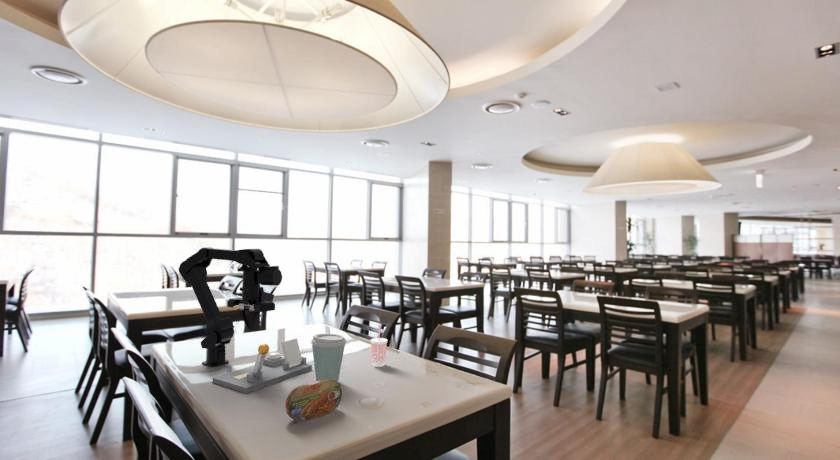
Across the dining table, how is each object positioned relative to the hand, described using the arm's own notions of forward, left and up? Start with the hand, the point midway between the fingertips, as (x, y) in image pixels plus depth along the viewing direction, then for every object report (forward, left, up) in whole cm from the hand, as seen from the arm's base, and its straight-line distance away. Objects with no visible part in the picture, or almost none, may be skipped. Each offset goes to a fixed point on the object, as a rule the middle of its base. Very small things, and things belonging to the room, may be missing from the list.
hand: (250, 329), depth 141 cm
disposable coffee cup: (+34, +3, -13) cm, 37 cm away
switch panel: (+12, -3, -13) cm, 18 cm away
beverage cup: (+36, +27, -13) cm, 47 cm away
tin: (+47, -16, -13) cm, 51 cm away
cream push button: (+8, +4, -10) cm, 14 cm away
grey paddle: (+16, +6, -11) cm, 20 cm away
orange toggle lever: (+16, -10, -11) cm, 22 cm away
